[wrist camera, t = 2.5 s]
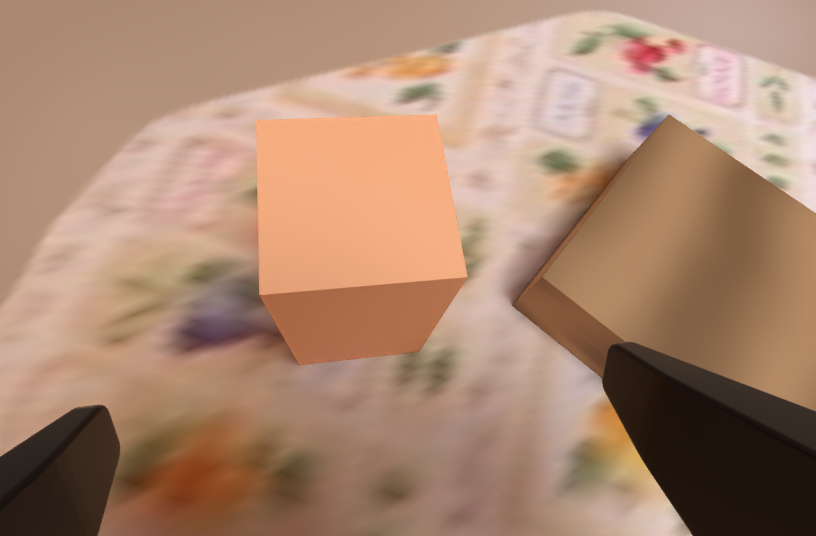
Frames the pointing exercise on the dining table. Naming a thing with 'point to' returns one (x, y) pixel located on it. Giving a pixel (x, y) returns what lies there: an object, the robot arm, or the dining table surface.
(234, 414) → the dining table surface
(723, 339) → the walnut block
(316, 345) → the terracotta block
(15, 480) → the robot arm
